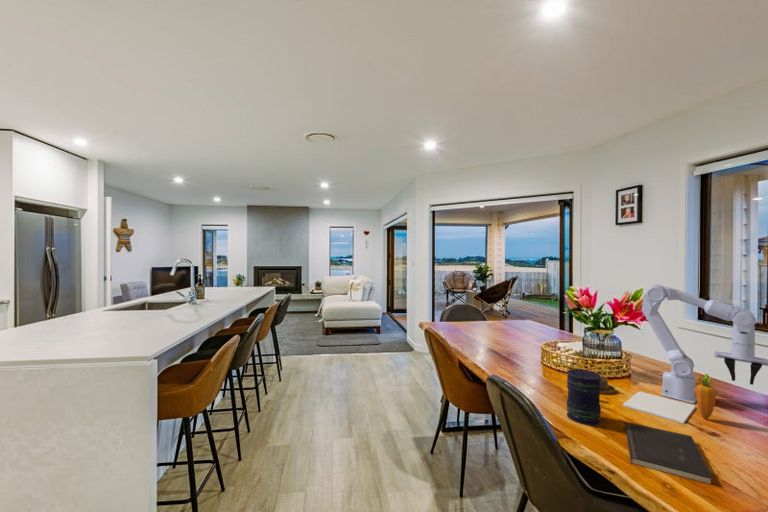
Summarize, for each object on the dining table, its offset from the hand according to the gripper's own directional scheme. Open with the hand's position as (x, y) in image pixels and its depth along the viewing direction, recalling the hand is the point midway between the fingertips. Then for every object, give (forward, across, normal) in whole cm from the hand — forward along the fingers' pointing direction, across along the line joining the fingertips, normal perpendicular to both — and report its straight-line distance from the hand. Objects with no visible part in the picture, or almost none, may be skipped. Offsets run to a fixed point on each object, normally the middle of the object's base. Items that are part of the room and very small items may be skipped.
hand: (742, 382), depth 123 cm
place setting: (+11, +41, +22) cm, 48 cm away
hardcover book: (+11, +11, +55) cm, 57 cm away
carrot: (+11, +7, +19) cm, 23 cm away
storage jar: (+11, +33, +51) cm, 62 cm away
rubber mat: (+10, +20, +19) cm, 29 cm away
